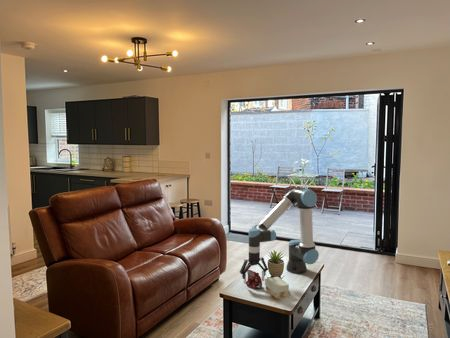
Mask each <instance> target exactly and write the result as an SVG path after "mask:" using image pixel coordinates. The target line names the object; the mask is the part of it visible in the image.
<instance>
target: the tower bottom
mask: <svg viewBox="0 0 450 338" xmlns="http://www.w3.org/2000/svg"><path fill="white" fill-rule="evenodd" d="M265 290H266V291H267V292H268V293H269V294H270V296H272V297H273V298H274V299H276V298H277V299H281V297H282V298H286V297H290V296H291V295H290V292H291V291H290V290H289V291H285V292H279V293H274V292H273V291H272V290H271V289H269V288H268V287H267V286H266V285H265Z"/></svg>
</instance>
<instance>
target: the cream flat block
mask: <svg viewBox="0 0 450 338" xmlns="http://www.w3.org/2000/svg"><path fill="white" fill-rule="evenodd" d="M264 285H265V287H266V286H267V287H268V288H269V289H271V290H272V291H273V292H274V293H279V292H285V291H290V290H289V289H290V287H289V286H290V285H289V284H288V283H287V282H286V281H285V280H284V279H282V278H281V277H279V276H274V277H269V278H268V277H267V278H264Z"/></svg>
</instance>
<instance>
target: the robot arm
mask: <svg viewBox="0 0 450 338" xmlns="http://www.w3.org/2000/svg"><path fill="white" fill-rule="evenodd" d="M317 201H318V197H317V194H316V192H315V191H314V190H312V189H309V188H304V187H301V186H297V187H296V186H295V187H294V188H292V189H290V190H289V191H287V193H285V194H284V196H283V197H282V199H281V200H280V201H279V203H278V204H276V206H275V207H274V208H273V209H271V211H270V212H269V213H268V214H267V215H266V216H265V217H264V218H263V219H262V220H261V221H260V222H259V223H258V224H254V225H253V226H252V227H251V228H250V229H249V230H248V234H247V235H248V259H245V258H244V260H243V263H242V265H241V268H240V269H239V274H241V275H242V276H241V277H242V279H243V284H245V285H246V282H247V274H246V273H247V271H248V270H250V268H251V267H252V266H257V265H258V266H259V268H260V269H261V280H262V282H265V276H266V275H267V271H269V268H268V266H267V264H266V262H265V258H264V256H261V257H260V255H261V253H260V251H261V243H266V242H267V243H268V242H274V241H276V240H277V233H276V231H275V230H274V229H270V228H271V227H272V226H273V225H274V224H275V223H276V222H277V220H279V218H280V217H282V216H283V215H284V214H285V213H286V212H287V211H288V209H290V207H293V206H295V204H296V205H297V209H298V210H299V227H300V233H299V234H300V239H291V240H290V241H289V242H288V261H287V264H286V268H285V269H286V271H287V272H289V273H292V274H304V273H307V270H308V268H307V265H313V264H315V263H316V262H317V261H318V260H319V256H320V255H319V251H318V250H317V249H316V244H315V242H314V235H313V234H314V233H313V232H314V231H313V230H314V228H313V227H314V226H313V210H314V208H315V206H316V204H317ZM260 261H261V262H262V264H261V262H260ZM306 264H307V265H306Z"/></svg>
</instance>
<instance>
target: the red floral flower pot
mask: <svg viewBox="0 0 450 338" xmlns="http://www.w3.org/2000/svg"><path fill="white" fill-rule="evenodd" d="M246 273H247V274H246V275H247V280H246V284H245V285H246V286H247V287H249V288H250V287H251V288H252V290H256V289H257V288H262V287H263V280H262V276H260V273H259V272H256V271H254V270H251V269H248V271H247V272H246Z"/></svg>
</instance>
